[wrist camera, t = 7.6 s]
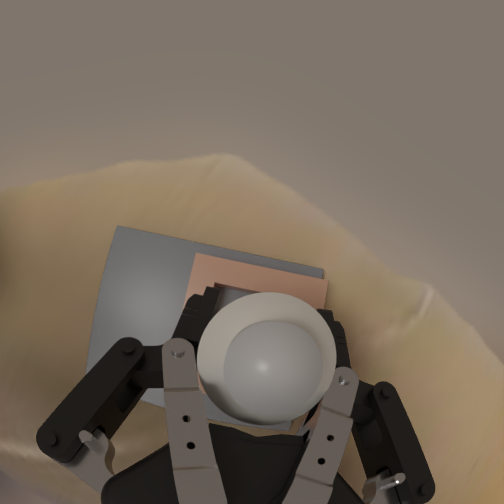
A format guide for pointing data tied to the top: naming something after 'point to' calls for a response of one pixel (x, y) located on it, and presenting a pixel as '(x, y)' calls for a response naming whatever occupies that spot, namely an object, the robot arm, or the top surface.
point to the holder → (183, 293)
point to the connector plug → (266, 358)
